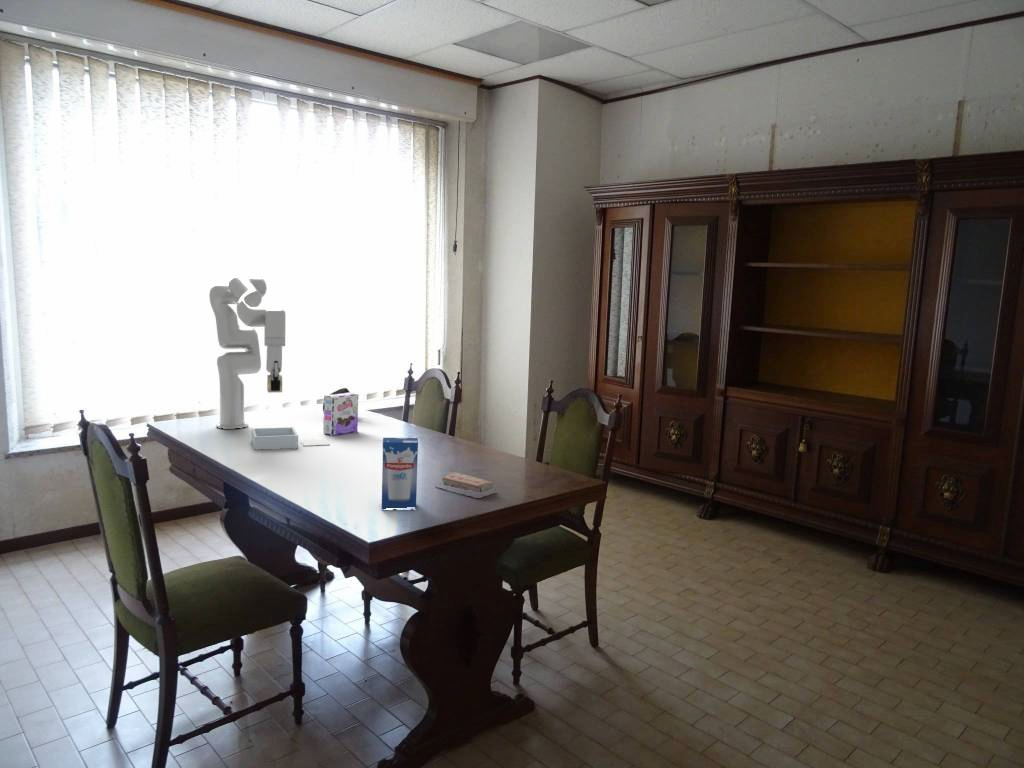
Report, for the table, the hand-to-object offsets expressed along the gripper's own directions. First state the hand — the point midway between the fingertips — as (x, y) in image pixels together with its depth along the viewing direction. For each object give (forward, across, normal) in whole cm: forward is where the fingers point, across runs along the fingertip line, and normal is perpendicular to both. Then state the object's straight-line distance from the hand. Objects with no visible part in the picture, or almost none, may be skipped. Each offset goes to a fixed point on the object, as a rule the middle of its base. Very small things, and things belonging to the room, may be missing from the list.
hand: (274, 388), depth 281 cm
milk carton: (+21, +87, +27) cm, 94 cm away
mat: (+22, 0, +15) cm, 26 cm away
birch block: (+1, 0, 0) cm, 1 cm away
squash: (+22, -49, +33) cm, 63 cm away
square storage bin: (+22, 0, 0) cm, 22 cm away
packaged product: (+22, +76, +52) cm, 94 cm away
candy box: (+22, -17, +28) cm, 39 cm away
